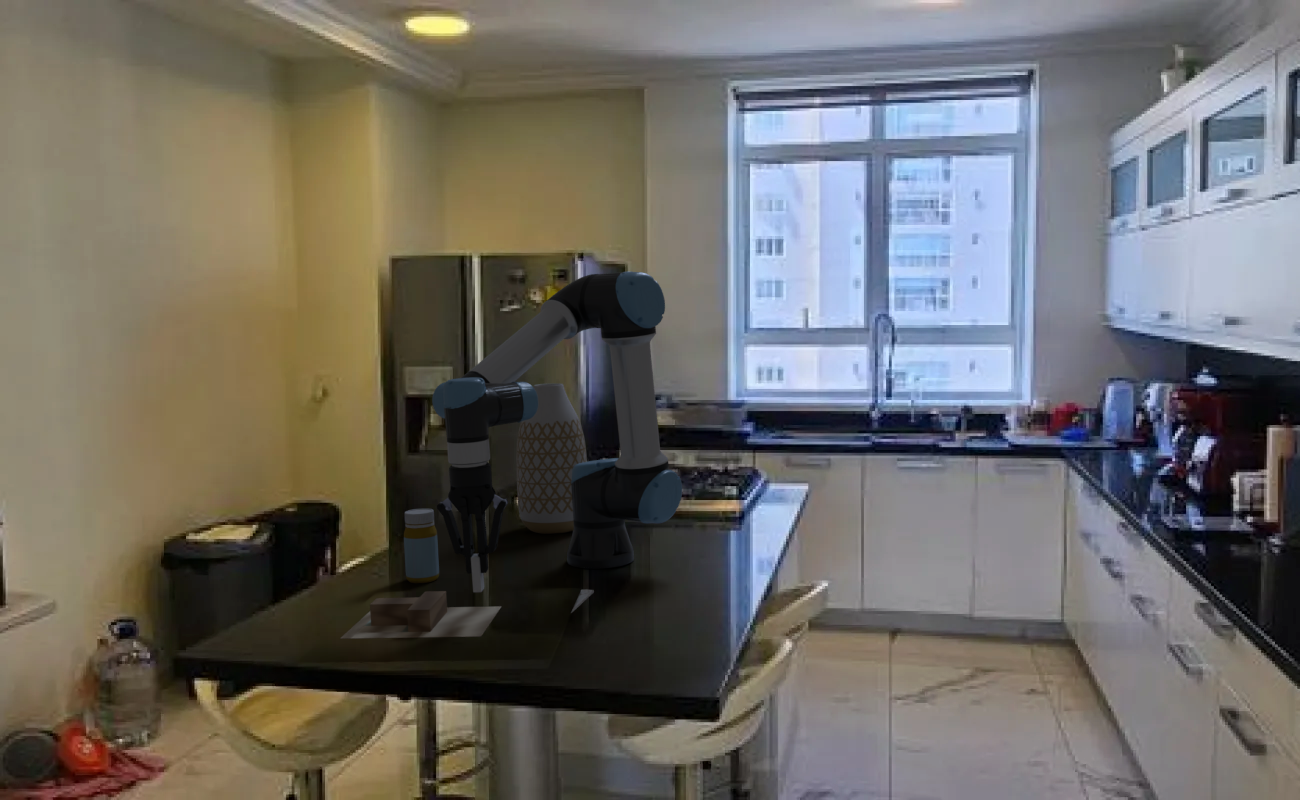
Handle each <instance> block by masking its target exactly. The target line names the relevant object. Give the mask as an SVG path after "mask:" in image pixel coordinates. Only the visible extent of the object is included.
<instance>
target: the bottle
mask: <svg viewBox="0 0 1300 800" xmlns="http://www.w3.org/2000/svg"><path fill="white" fill-rule="evenodd" d="M404 523H405V524H404V525H405V528H404V531H403V546H404V547H403V549H404V563H405V564H404V565H405V578H406V580H407V581H408V582H409V583H412V584H426V583H432V582H434V581H436V580H438V578H439V576H440V566H439V565H440V564H439V545H438V530H437V528H436V526H435V512H434V509H432V508H413V509H409V510H406V511H404Z"/></svg>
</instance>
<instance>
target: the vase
mask: <svg viewBox="0 0 1300 800" xmlns="http://www.w3.org/2000/svg"><path fill="white" fill-rule="evenodd" d="M533 388H534V389H535V391H536V393H537V395H538V409H537V412H536V414H535V415H534V416H533V417H532V418H530V419H528V420H524V421H521V422H520V423H519V428H518V432H517V434H518V435H517V441H516V492H517V505H518V506H517V507H518V512H519V513H518V514H519V518H520V520H521V523H523V526H525V527H526V528H527V529H528V530H529V531H531V532H533V533H537V534H542V535H544V534H545V535H546V534H547V535H552V534H553V535H554V534H565V533H570V532H573V529H574V521H573V504H572V487H571V481H572V469H573V467H574V466H575V465H576V464H579V463H583V462H588V460H587V459H588V457H587V447H586V440H585V439H586V438H585V435H584V431H583V428H582V424H581V421H580V419H579V416H578V414H577V411H576V410H575V409H574V407H573V405H572V403H571V401H570V399H569V396H568V395H567V392H566V389H565V386H564V383H540V384H539V383H538V384H534V385H533Z"/></svg>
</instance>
